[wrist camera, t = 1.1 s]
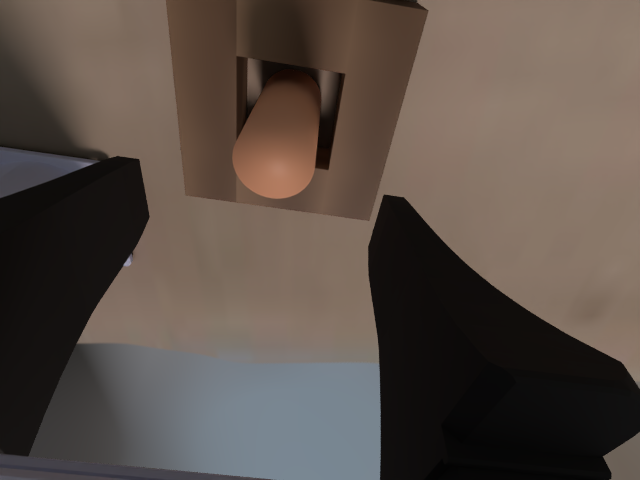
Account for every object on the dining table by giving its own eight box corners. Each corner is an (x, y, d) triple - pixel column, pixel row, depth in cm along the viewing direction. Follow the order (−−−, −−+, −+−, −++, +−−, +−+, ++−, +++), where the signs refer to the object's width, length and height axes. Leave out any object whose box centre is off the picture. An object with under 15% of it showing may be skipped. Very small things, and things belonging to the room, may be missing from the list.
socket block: (199, 172, 22) (185, 195, 20) (184, -39, 15) (162, -37, 13) (366, 196, 22) (369, 220, 20) (417, 2, 16) (428, 10, 14)
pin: (261, 124, 20) (232, 192, 14) (263, 64, 18) (232, 116, 12) (317, 132, 20) (309, 203, 14) (325, 74, 18) (320, 130, 12)
